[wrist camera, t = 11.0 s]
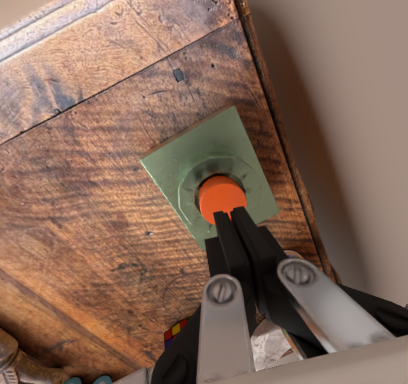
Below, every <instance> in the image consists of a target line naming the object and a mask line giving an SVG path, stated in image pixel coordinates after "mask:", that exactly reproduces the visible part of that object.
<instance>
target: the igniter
mask: <svg viewBox="0 0 408 384" xmlns="http://www.w3.org/2000/svg"><path fill="white" fill-rule="evenodd" d="M140 162H141V163H142V164H143V166H144V167H145V169H146V170H147V172H148V173H149V175H150V176H151V177H152V179H153V180H154V182H155V183H156V185H157V186H158V187H159V189H160V190H161V192H162V193H163V195H164V196H165V198H166V199H167V200H168V202H169V203H170V205H171V206H172V208H173V209H174V210H175V212H176V213H177V215H178V216H179V218H180V219H181V221H182V222H183V223H184V225H185V226H186V228H187V229H188V231H189V232H190V234H191V235H192V236H193V238H194V239H195V241H196V242H197V244H198V245H199V246H200V248H201V249H202V251H204V250H206V247H205V241H204V239H208V238H212V237H217V231H216V226H215V225H213V224H211V223H209V222H208V221H206V220H205V219H204V217H203V216H202V214H201V211H200V205H199V199H198V194H199V190H200V188H201V186H202V185H203V183H204V182H205V181H207V180H208V179H210V178H212V177H214V176H227V177H230V178H232V179H233V180H234V181H235V182H236V183H237V184H238V185H239V187H240V188H241V189H242V191H243V192H244V194H245V196H246V199H247V206H246V211H247V212H248V214H249V215H250V217H251V218H252V220H253V221H254V223H255V224H258V223H260V222H262V221H264V220H266V219H268V218H270V217H272V216H274V215H276V214H278V213H280V210H279V208H278V205H277V203H276V201H275V198H274V196H273V194H272V191H271V189H270V187H269V184H268V182H267V179H266V177H265V175H264V172H263V170H262V168H261V165H260V163H259V161H258V158H257V156H256V154H255V151H254V149H253V147H252V144H251V142H250V140H249V137H248V135H247V133H246V130H245V128H244V125H243V123H242V121H241V118H240V116H239V114H238V111H237V109H236V107H235V105H233V106H225V107H222V108H220V109H218V110H217V111H215V112H213V113H212V114H210V115H208V116H206V117H205V118H203V119H201V120H200V121H198V122H196V123H194V124H193V125H191V126H189V127H187V128H186V129H184V130H182V131H181V132H179V133H177V134H175V135H174V136H172V137H170V138H169V139H167V140H165V141H163V142H162V143H160V144H158V145H156V146H155V147H153V148H151V149H150V150H148V152H147V153H146V154H145V155H144V156H143V157H142V158H141V159H140Z"/></svg>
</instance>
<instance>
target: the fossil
mask: <svg viewBox="0 0 408 384" xmlns="http://www.w3.org/2000/svg"><path fill="white" fill-rule="evenodd" d="M250 340H251V346H252V352H253V358H254V365H255V371H256V370H258V371H260V370H264V369H266V368H267V367H268V366H269V365H271V364H272V363H273V362H274V361H276V360H278V359H279V358H280V357H281V356H282V355H283V354H284V352H286V351H287V350H288V349H290V348H291V346H290V344H289V343H288V341H287V340H286V338H285V336H284V335H283V332H282V330H281V327H279V326H277V325H276V324H274V323H272V321H270V322H267V319H266V318H265V319H264V320H263V321H262V322H261V323H260V324H259V325H258V327H257V328H256V329H255V331H254V333H253V335H252V337H251V339H250Z"/></svg>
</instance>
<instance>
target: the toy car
mask: <svg viewBox="0 0 408 384" xmlns="http://www.w3.org/2000/svg"><path fill="white" fill-rule="evenodd" d="M64 384H82V382H81V380H80V378H78V377H72V378H70V379H68V380H67V381H66V382H64ZM93 384H112V380H111V378H110V377H109V376H106V375H105V376H101V377H99V378H98V379H97V380H96V381H95V382H94V383H93Z"/></svg>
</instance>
